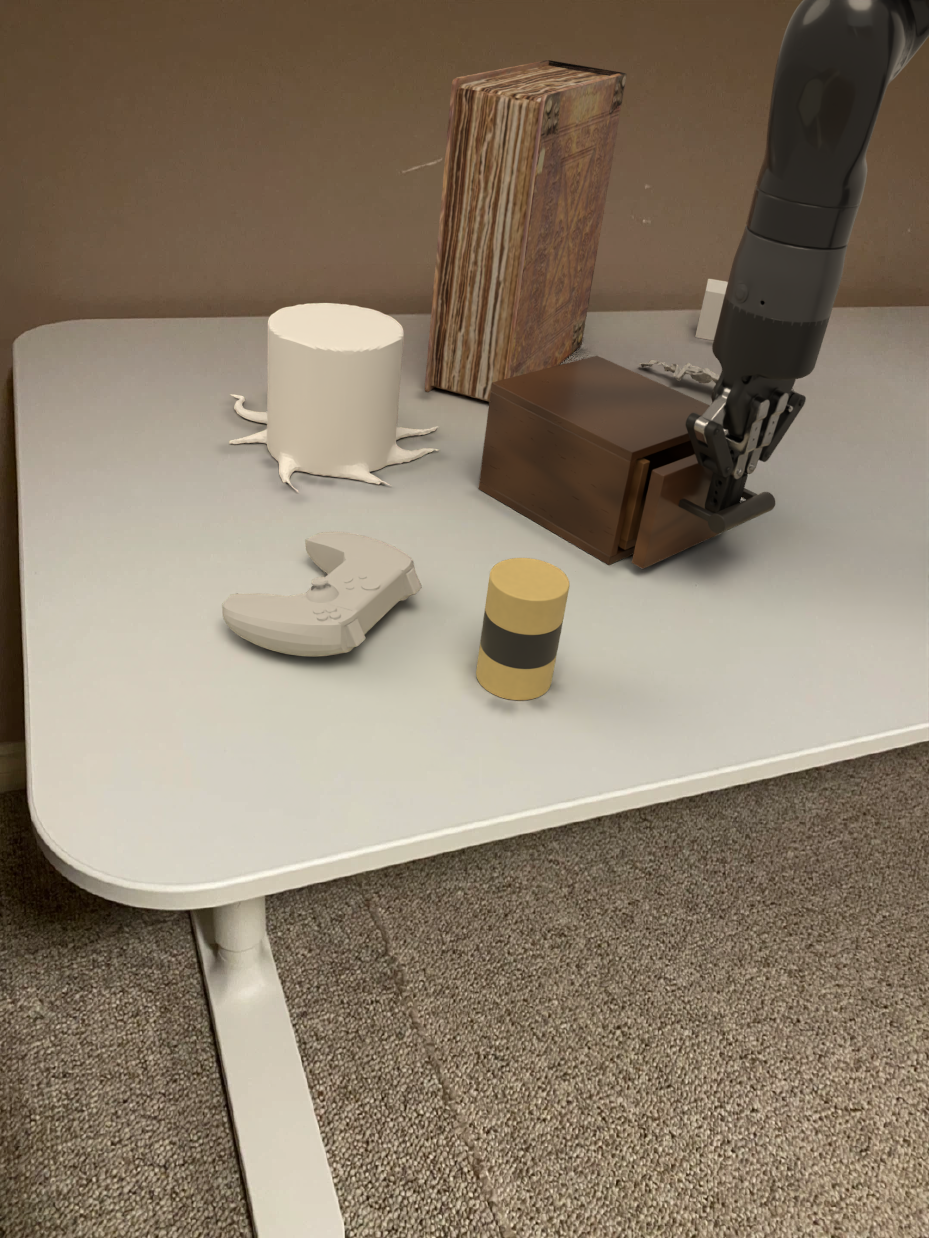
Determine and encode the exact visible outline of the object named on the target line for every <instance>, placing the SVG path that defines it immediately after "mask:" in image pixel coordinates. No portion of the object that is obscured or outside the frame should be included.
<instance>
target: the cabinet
mask: <svg viewBox="0 0 929 1238" xmlns="http://www.w3.org/2000/svg"><path fill="white" fill-rule="evenodd" d="M710 405H711V404H708V403H705V402H703V401H701V400H699V399H697V398H694V397H691V396H689V395H687V394H685V393H683V392H681V391H678V390H676V389H674V388H671V387H669V386H667V385H665V384H662V383H660V382H658V381H656V380H653V379H652V378H649V377H647V376H644V375H643V374H640V373H637V372H635V371H633V370H631V369H629V368H626V367H624V366H622V365H619V364H617V363H615V362H613V361H611V360H609V359H606V358H604V357H602V356H599V355H594V356H590V357H585V358H581V359H578V360H574V361H570V362H566V363H561V364H559V365H558V366H554V367H550V368H546V369H542V370H538V371H534V372H531V373H527V374H523V375H519V376H515V377H511V378H507V379H503V380H499V381H495V382H492V383H491V392H490V400H489V402H488V409H487V416H486V425H485V433H484V441H483V447H482V448H483V450H482V458H481V463H480V464H481V466H480V474H479V481H478V490H479V491H481V492H483V493H485V494H486V495H488V496H490V497H492V498H493V499H495V500H497V501H499V502H500V503H502V504H504V505H506V506H507V507H509V508H510V509H512V510H514V511H516V512H517V513H520V515H522V516H524V517H526V518H528V519H529V520H531V521H532V522H534V523H537V524H538V525H539V526H541V527H543V528H545V529H546V530H548V531H550V532H552V533H553V534H554V535H557V536H558V537H560V538H561V539H563V540H565V541H567V542H569V543H570V544H572V545H574V546H576V547H577V548H579V549H580V550H582V551H584V552H586V553H588V554H589V555H591V556H593V557H594V558H596V559H598V560H600V561H601V562H602V563H605V564H606V565H608V566H610V565H612V564H615V563H617V562H619V561H621V560H624V559H626V558H628V557H631V556H633V554H634V550H635V546H633V547H631V548H629V549H626V550H624V549H623V548H621V547H619V546H618V545H619V540H620V535H621V531H622V526H623V521H624V517H625V512H626V507H627V502H628V498H629V493H630V488H631V483H632V479H633V474H634V469H635V465H636V459H639V458H642V457H645V456H648V455H650V454H653V453H656V452H659V451H662V450H664V449H667V448H670V447H673V446H676V445H678V444H681V443H684V442H687V441H690V437H689V434H688V431H687V428H686V420H687V418H688V416H689V415H690V414H691V413H693V412H695V413H697V414H699V415H701V416H702V415H703V413H704V412H705V411H706V410H707V409H708V408H709V406H710Z"/></svg>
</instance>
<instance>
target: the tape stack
mask: <svg viewBox="0 0 929 1238" xmlns="http://www.w3.org/2000/svg"><path fill="white" fill-rule="evenodd" d="M569 591H570V580H569V577H568V576H567V574H566V573H565V572H564V571H563V570H562V569H561V568H559V567H557V566H555V565H554V564H552V563H550V562H547V561H545V560H541V559H537V558H530V557H513V558H507V559H504V560H501V561H498V562H497V563H496V564H494V565H493V566H492V567H491V569H490V571H489V575H488V582H487V591H486V597H485V604H484V605H485V606H484V613H483V620H482V628H481V634H480V641H479V650H478V655H477V662H476V670H475V675H476V679H477V682H478V683H479V684H480V686H482V688H483V689H485V690H486V691H487V692H489V693H490V694H492V695H494V696H496V697H498V698H501V699H506V700H511V701H529V700H534V699H537V698H539V697H541V696H543V695H545V694H546V693H547V692H548V691H549V690H550V688H551V686H552V682H553V677H554V671H555V665H556V660H557V655H558V651H559V650H558V649H559V645H560V640H561V634H562V629H563V628H562V627H563V623H564V617H565V613H566V607H567V602H568V597H569Z"/></svg>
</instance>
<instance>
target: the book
mask: <svg viewBox="0 0 929 1238" xmlns="http://www.w3.org/2000/svg"><path fill="white" fill-rule="evenodd" d="M626 81H627V73H625V72H622V71H616V70H609V69H605V68H604V69H603V68H597V67H591V66H586V65H580V64H574V63H567V62H563V61H556V60H550V59H547V60H546V59H545V60H542V61H541V60H540V61H535V62H531V63H524V64H520V65H516V66H510V67H509V66H508V67H504V68H499V69H494V70H489V71H484V72H478V73H474V74H468V75H462V76H457V77H454V78H453V79H452V81H451V86H450V88H451V89H450V98H449V110H448V121H447V131H446V132H447V134H446V144H445V154H444V167H443V175H442V187H441V188H442V189H441V199H440V211H439V223H438V233H437V244H436V245H437V246H436V255H435V266H434V267H435V268H434V276H433V277H434V279H433V290H432V300H431V312H430V322H429V323H430V324H429V335H428V346H427V354H426V355H427V357H426V366H425V379H424V391H425V392H427V393H429V392H431V391H432V390H433V389H435V388H437V389H441V390H444V391H449V392H452V393H455V394H458V395H462V396H466V397H471V398H474V399H478V400H482V401H485V402H488V403H489V400H490V392H491V383H492V382H495V381H499V380H503V379H507V378H511V377H515V376H519V375H523V374H527V373H531V372H534V371H538V370H542V369H546V368H550V367H554V366H558V365H561V364H563V362H564V361H565V360H566V359H567V358H569V357H570V356H571V355H572V354H573V353H575V352H576V351H577V350H578V349H579V348H580V347H581V346H582V345H583V340H584V333H585V327H586V322H587V321H586V320H587V315H588V310H589V303H590V296H591V291H592V285H593V281H594V280H593V279H594V274H595V267H596V262H597V255H598V248H599V243H600V236H601V232H602V226H603V219H604V214H605V213H604V212H605V207H606V202H607V201H606V200H607V194H608V189H609V182H610V178H611V172H612V165H613V158H614V152H615V148H616V147H615V146H616V141H617V135H618V128H619V123H620V117H621V110H622V106H623V105H622V104H623V99H624V93H625V87H626Z"/></svg>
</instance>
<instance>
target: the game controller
mask: <svg viewBox="0 0 929 1238" xmlns="http://www.w3.org/2000/svg"><path fill="white" fill-rule="evenodd" d="M304 542H305V543H304V544H305V551H306V553H307V555H308V557H309V558H310V559H311V561H312V562H313V563H314V564H315V565H316V566H317V567H318V568H319V569H321V570H322V571H323V572H324V573H326V574H327V575H325V576H318V577H314V578H313V579H312V580H311V586H310V588H308V589H307V591H306V592H305V593H297V594H292V595H281V594H275V593H231V594H229V596H228V597H227V598H226V599H225V600H224V601H223V602H222V604H221V608H222V618H223V620H224V622H225V624H226V625H227V627H228V628H229V629H230V630H231V631H233V632H234V633H235V634H236V635H237V636H239V637H241V638H242V639H243V640H245V641H248V642H250V643H252V644H254V645H256V646H258V647H261V648H263V649H266V650H269V651H273V652H276V653H281V654H284V655H291V656H298V657H327V656H333V655H339V654H346V653H350V652H351V651H352V650H353V649H354V648H355V647H356V648H357V647H359V646H360V645H361V644H362V643H363V642H364V641H366V634H367V633H368V632H369V631H370V630H371V629H373V627H374V626H375V625H376V624H377V623H378V622H379V621H381V619H382V618H383V617H384V616H385V615H386V614H387V613H388V612H389V611H391V609H392V608H393V607H394V606H396V605H397V604H398V603H399V602H400V601H406V600H407V599H408V598H409V597H410V596H414V595H416V594H417V593H418V592H419V591H420V590H422V588H423V587H422V584H421V581H420V579H419V576H418V574H417V572H416V567H415V563H414V562H415V561H414V560H413V558H412V557H411V556H410V555H409V554H408V553H406V552H405V551H403V550H401V549H399V548H398V547H396V546H394V545H392V544H389V543H387V542H384V541H382V540H379V539H376V538H372V537H370V536H365V535H361V534H357V533H351V532H344V531H323V532H319V533H316V534H314V535H312V536H310V537H308V538H306V539H305V540H304Z"/></svg>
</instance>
